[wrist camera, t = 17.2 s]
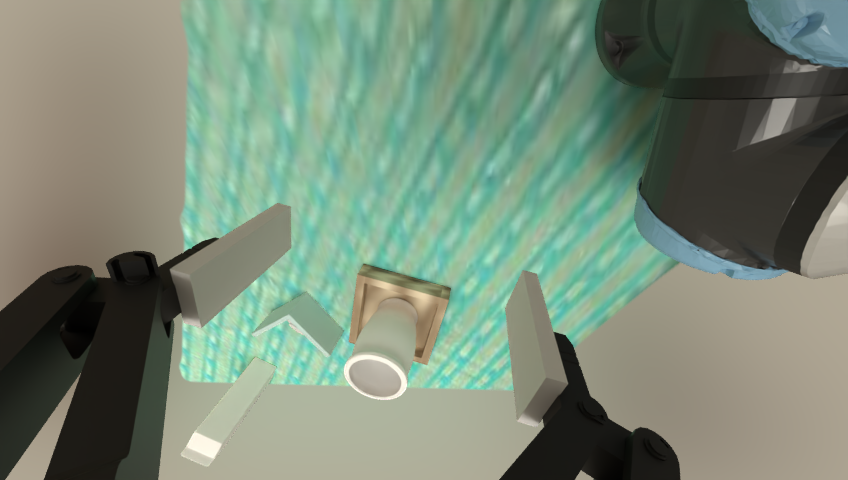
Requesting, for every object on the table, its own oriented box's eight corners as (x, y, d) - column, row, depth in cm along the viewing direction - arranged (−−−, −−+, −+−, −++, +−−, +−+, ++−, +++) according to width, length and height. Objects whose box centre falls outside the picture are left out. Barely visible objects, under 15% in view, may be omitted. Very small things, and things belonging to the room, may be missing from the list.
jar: (422, 337, 62) (406, 405, 49) (373, 329, 63) (345, 394, 50) (424, 296, 57) (407, 361, 44) (371, 289, 58) (340, 349, 45)
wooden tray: (450, 288, 56) (448, 300, 53) (429, 351, 65) (427, 365, 62) (363, 263, 57) (357, 274, 54) (354, 330, 66) (348, 342, 63)
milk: (255, 356, 77) (180, 448, 57) (277, 366, 77) (209, 461, 58) (251, 369, 80) (177, 460, 60) (272, 379, 80) (206, 473, 61)
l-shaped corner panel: (273, 309, 68) (251, 334, 62) (308, 290, 63) (288, 314, 57) (309, 344, 72) (292, 371, 65) (344, 328, 67) (330, 355, 61)
